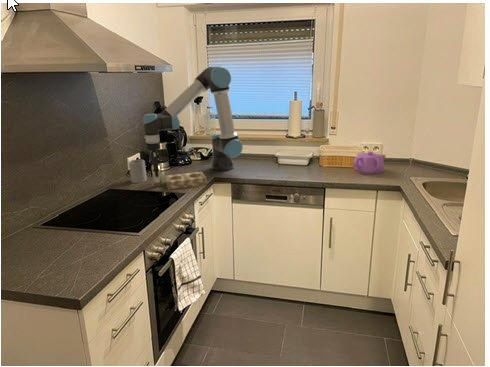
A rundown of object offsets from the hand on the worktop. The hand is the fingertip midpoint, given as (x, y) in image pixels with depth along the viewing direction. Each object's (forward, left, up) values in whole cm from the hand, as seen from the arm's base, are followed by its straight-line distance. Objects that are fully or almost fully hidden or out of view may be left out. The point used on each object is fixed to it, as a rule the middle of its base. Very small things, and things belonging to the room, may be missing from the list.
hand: (156, 178), depth 200 cm
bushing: (0, 0, -4) cm, 4 cm away
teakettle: (-126, +22, -5) cm, 128 cm away
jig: (-16, +2, -4) cm, 17 cm away
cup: (+10, -15, -4) cm, 18 cm away
